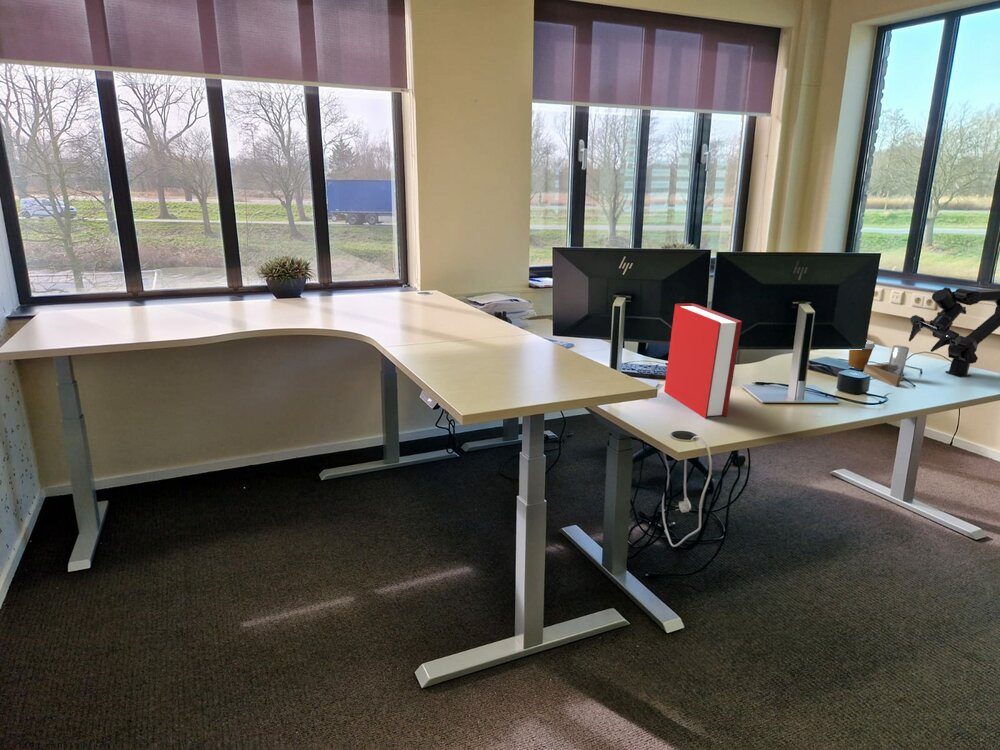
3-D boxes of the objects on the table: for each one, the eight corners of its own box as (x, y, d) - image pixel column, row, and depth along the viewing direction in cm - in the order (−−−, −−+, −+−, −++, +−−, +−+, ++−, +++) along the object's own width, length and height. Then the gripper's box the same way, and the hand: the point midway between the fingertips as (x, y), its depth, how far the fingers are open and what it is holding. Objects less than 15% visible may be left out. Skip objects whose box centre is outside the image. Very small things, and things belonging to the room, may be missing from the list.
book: (726, 417, 204) (741, 321, 194) (705, 418, 202) (719, 321, 192) (681, 389, 229) (693, 303, 219) (662, 390, 227) (673, 303, 217)
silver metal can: (893, 375, 256) (900, 344, 252) (906, 380, 250) (914, 349, 246) (880, 376, 254) (887, 345, 250) (893, 381, 248) (901, 349, 244)
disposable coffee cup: (853, 372, 258) (859, 344, 254) (838, 365, 267) (844, 338, 263) (874, 372, 259) (881, 344, 255) (859, 365, 268) (865, 338, 264)
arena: (892, 372, 260) (894, 363, 259) (926, 384, 245) (929, 375, 244) (863, 373, 256) (865, 364, 255) (895, 386, 242) (898, 376, 240)
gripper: (974, 335, 248) (946, 365, 250) (928, 315, 262) (902, 344, 264) (970, 322, 241) (941, 353, 243) (923, 302, 255) (896, 332, 257)
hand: (919, 346), depth 252 cm, fingers open, 9 cm apart
